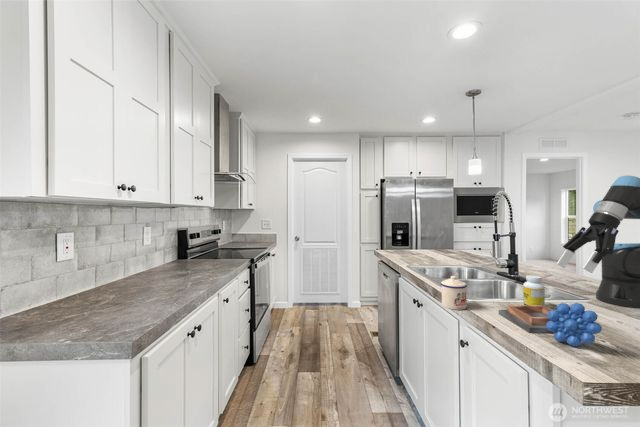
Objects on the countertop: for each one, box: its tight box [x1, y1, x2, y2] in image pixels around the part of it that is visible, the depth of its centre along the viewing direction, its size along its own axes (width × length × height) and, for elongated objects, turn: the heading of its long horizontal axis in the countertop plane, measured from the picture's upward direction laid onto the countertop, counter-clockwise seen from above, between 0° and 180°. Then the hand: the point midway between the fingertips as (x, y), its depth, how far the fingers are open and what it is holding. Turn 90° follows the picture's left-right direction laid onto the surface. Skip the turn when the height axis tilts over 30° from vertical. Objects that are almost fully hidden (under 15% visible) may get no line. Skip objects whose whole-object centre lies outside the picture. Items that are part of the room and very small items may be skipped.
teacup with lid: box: [440, 275, 468, 311], centre depth 112 cm, size 12×9×12 cm
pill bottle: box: [522, 274, 546, 306], centre depth 109 cm, size 6×6×12 cm
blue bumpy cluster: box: [546, 302, 603, 348], centre depth 79 cm, size 12×7×12 cm, turn 36°
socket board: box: [498, 304, 556, 334], centre depth 95 cm, size 16×16×4 cm
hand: (572, 268), depth 102 cm, fingers open, 13 cm apart
